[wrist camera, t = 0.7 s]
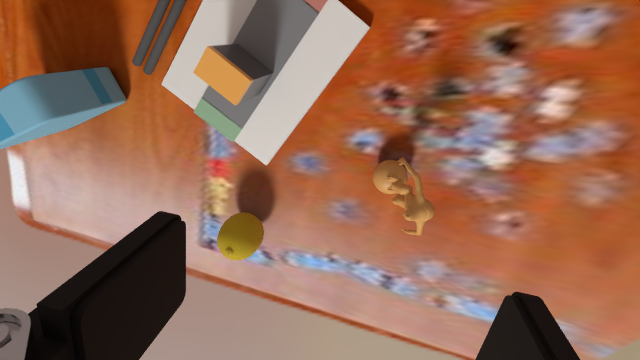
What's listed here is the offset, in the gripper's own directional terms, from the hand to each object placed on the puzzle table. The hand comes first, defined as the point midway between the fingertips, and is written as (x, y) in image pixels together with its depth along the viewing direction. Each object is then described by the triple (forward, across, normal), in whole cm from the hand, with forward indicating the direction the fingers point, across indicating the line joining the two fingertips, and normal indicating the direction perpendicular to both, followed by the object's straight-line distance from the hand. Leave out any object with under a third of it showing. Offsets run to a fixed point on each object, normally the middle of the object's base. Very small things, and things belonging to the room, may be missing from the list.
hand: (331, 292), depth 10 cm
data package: (+33, +36, +6) cm, 50 cm away
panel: (+32, +13, -3) cm, 35 cm away
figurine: (+32, -5, +7) cm, 33 cm away
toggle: (+31, +14, -2) cm, 34 cm away
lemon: (+33, +13, +19) cm, 40 cm away
